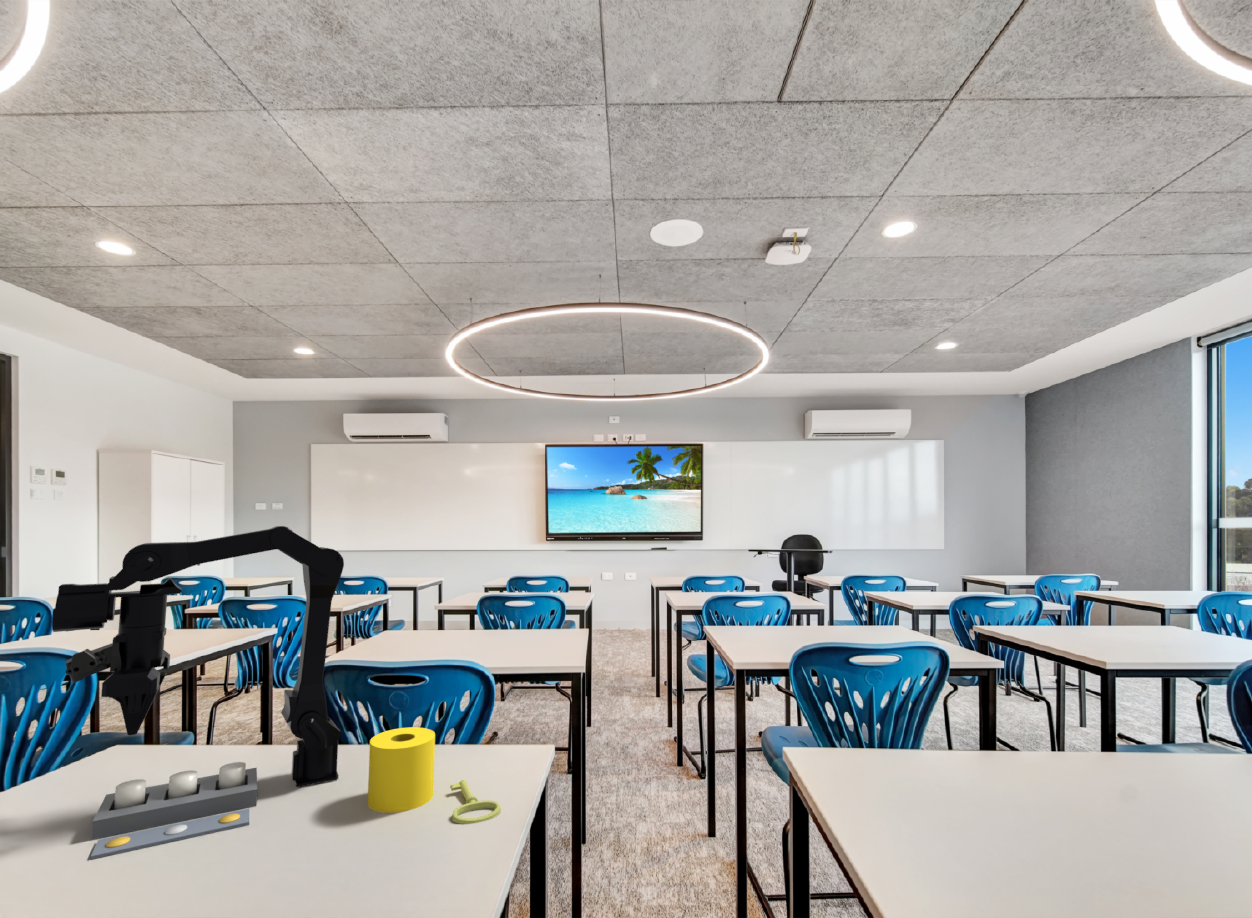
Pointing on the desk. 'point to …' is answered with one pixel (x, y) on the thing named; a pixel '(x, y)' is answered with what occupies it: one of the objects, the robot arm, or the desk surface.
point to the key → (473, 806)
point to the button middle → (182, 784)
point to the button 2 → (232, 775)
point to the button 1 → (130, 794)
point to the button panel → (174, 806)
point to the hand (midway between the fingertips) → (135, 729)
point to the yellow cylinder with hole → (401, 769)
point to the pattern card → (170, 833)
